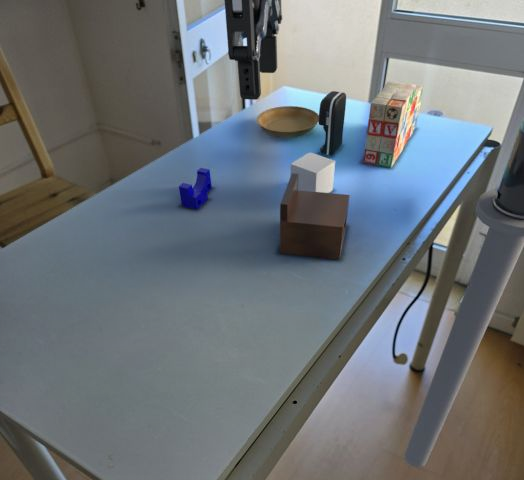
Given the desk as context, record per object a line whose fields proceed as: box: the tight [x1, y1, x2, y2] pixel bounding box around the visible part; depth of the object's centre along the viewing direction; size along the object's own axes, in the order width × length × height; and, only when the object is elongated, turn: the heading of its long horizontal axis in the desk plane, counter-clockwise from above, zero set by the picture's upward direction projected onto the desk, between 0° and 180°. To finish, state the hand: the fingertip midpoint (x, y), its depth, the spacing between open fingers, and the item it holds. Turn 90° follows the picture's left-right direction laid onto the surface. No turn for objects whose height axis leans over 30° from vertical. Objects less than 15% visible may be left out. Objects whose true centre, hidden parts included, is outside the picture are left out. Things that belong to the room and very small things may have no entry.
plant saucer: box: [256, 105, 319, 139], centre depth 112 cm, size 15×15×3 cm
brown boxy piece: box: [279, 173, 350, 260], centre depth 79 cm, size 10×10×9 cm
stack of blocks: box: [362, 81, 424, 169], centre depth 101 cm, size 21×6×12 cm, turn 154°
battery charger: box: [318, 90, 347, 156], centre depth 101 cm, size 7×4×11 cm, turn 152°
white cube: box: [289, 151, 336, 193], centre depth 91 cm, size 6×6×6 cm
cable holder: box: [178, 167, 213, 211], centre depth 91 cm, size 8×4×4 cm, turn 154°
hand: (259, 84), depth 55 cm, fingers open, 8 cm apart
